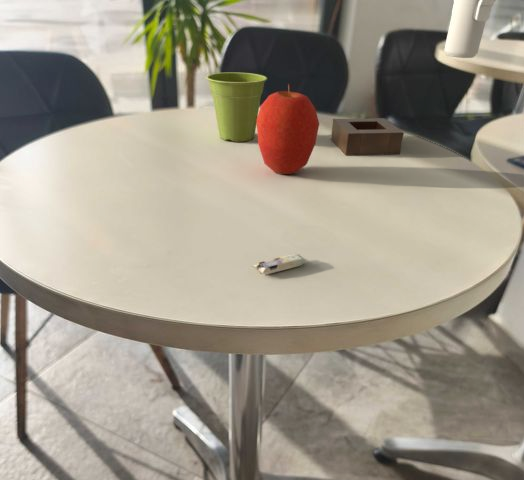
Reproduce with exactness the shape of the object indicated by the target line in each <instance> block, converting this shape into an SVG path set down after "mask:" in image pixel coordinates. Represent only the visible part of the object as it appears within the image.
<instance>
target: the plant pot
mask: <svg viewBox="0 0 524 480" xmlns="http://www.w3.org/2000/svg"><path fill="white" fill-rule="evenodd" d="M205 79H206V80H207V81H208V83H209V88H210V93H211V95H212V99H213V105H214V112H215V117H216V123H217V128H218V134H219V138H220V139H222V140H224V141H227V140H228V141H229V140H230V141H232V142H236V143H240V142H248V141H251V140H252V139H254V138H255V134H256V130H257V121H256V120H257V117H258V114H259V111H260V104H261V98H262V95H263V91H264V86H265V82H266V81H267V80H268V77H267V76H266V75H263V74H258V73H252V72H234V71H232V72H231V71H229V72H216V73H210V74H207V75H206V76H205Z"/></svg>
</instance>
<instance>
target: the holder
mask: <svg viewBox="0 0 524 480" xmlns="http://www.w3.org/2000/svg"><path fill="white" fill-rule="evenodd" d="M404 133H405V132H404V131H402V129H400V128H399V127H397V126H395V125H394V124H393V123H391V122H390V121H389V120H387V119H386V118H385V117H373V118H371V117H369V118H365V117H364V118H333V119H332V125H331V135H330V140H331V141H332V142H333V143H334V144H335V146H336V147H337V148H338V149H339V150H340V151H341V152H342V153H343V154H344V155H345V156H374V155H376V156H377V155H378V156H379V155H380V156H381V155H400V154H401V150H402V144H403V138H404Z"/></svg>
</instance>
